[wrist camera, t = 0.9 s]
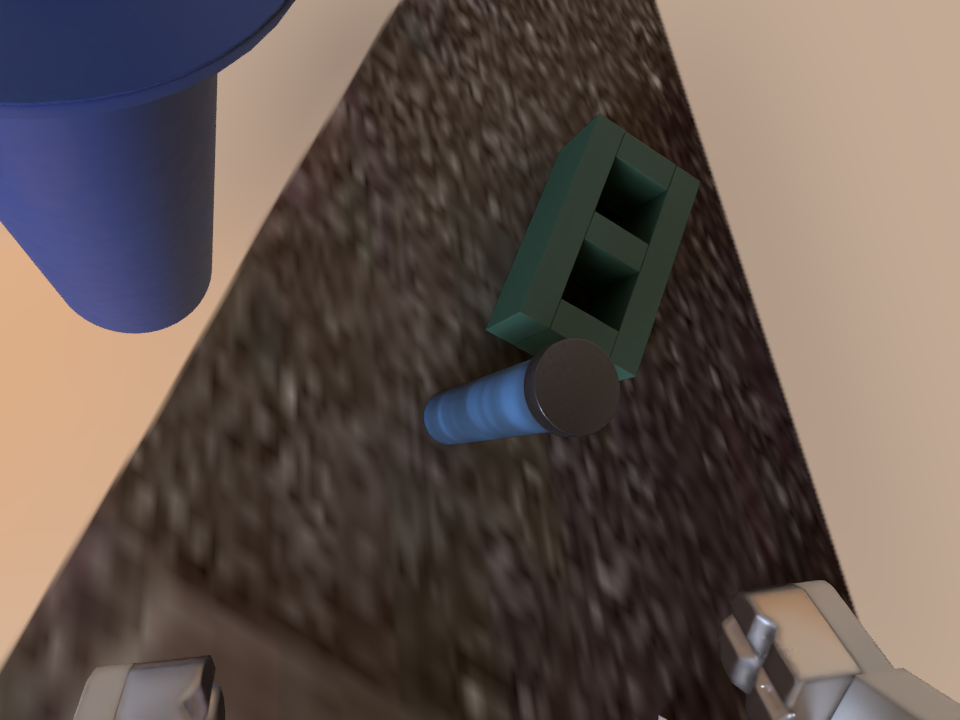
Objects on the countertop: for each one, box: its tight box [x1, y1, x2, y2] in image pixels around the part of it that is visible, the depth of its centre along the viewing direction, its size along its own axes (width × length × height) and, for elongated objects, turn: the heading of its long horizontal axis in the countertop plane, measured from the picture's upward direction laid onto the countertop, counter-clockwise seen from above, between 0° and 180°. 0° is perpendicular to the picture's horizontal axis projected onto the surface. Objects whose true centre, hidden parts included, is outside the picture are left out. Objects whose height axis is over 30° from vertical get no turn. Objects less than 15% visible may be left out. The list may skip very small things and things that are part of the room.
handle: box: [424, 338, 620, 445], centre depth 33 cm, size 4×4×15 cm
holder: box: [486, 114, 700, 380], centre depth 42 cm, size 8×14×5 cm, turn 157°
